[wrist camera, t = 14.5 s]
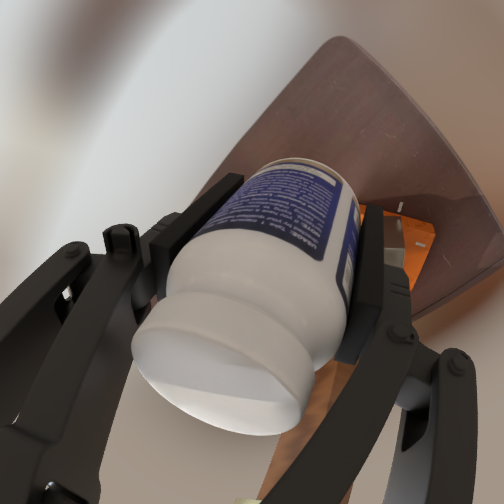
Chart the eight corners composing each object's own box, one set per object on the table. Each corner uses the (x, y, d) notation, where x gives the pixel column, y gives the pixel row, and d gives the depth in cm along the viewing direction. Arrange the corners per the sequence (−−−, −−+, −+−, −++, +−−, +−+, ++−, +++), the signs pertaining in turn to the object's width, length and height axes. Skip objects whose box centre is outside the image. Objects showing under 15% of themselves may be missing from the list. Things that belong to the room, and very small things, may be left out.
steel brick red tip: (382, 215, 39) (383, 249, 33) (400, 215, 38) (405, 250, 32) (381, 254, 42) (380, 293, 36) (398, 255, 41) (400, 293, 35)
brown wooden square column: (353, 269, 48) (290, 524, 19) (390, 308, 50) (357, 541, 21) (309, 299, 55) (228, 515, 25) (346, 332, 56) (292, 537, 27)
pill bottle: (222, 204, 16) (90, 346, 9) (301, 128, 13) (172, 254, 5) (299, 281, 17) (228, 451, 9) (386, 224, 14) (375, 431, 6)
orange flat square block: (439, 204, 38) (443, 214, 36) (410, 279, 46) (411, 292, 43) (357, 181, 41) (356, 190, 38) (338, 260, 48) (335, 272, 46)
